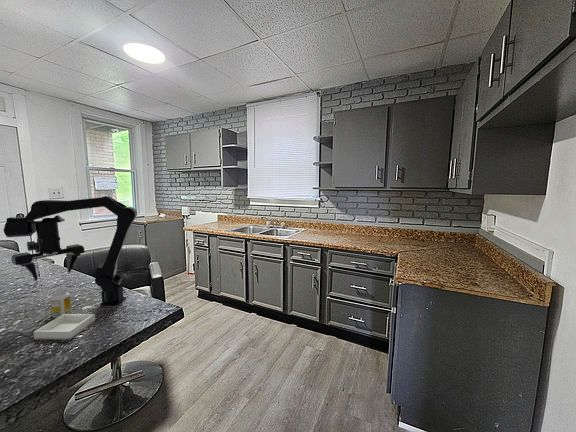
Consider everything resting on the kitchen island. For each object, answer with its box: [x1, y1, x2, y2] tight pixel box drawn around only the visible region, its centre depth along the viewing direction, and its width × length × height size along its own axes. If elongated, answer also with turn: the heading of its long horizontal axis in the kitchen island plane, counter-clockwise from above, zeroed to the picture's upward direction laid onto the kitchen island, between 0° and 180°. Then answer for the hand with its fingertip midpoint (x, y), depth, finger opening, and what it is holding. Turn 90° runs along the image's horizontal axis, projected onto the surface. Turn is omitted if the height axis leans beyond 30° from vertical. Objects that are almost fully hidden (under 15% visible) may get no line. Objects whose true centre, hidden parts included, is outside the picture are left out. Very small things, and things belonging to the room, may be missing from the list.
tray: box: [33, 313, 96, 340], centre depth 82 cm, size 11×11×2 cm
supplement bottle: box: [49, 286, 72, 319], centre depth 91 cm, size 5×5×10 cm
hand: (53, 276), depth 93 cm, fingers open, 9 cm apart
